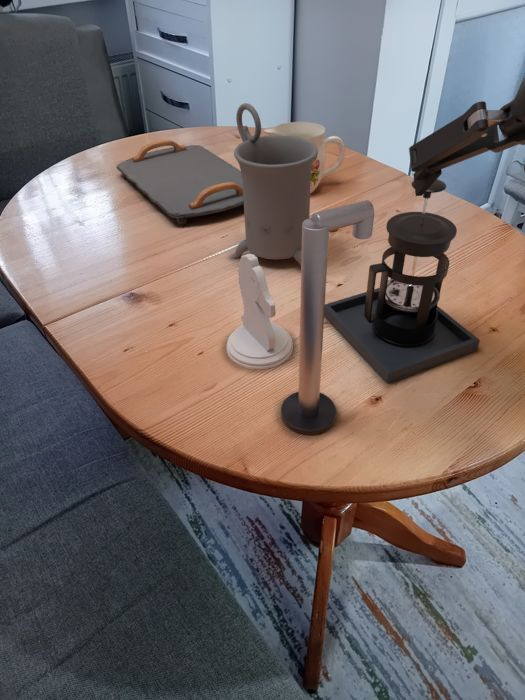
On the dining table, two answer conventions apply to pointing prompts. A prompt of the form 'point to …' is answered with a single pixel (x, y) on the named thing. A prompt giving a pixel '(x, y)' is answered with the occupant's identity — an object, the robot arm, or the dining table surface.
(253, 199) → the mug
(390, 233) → the french press
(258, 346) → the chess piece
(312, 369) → the tap
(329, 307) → the drip tray
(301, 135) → the pitcher
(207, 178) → the serving tray
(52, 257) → the dining table surface
